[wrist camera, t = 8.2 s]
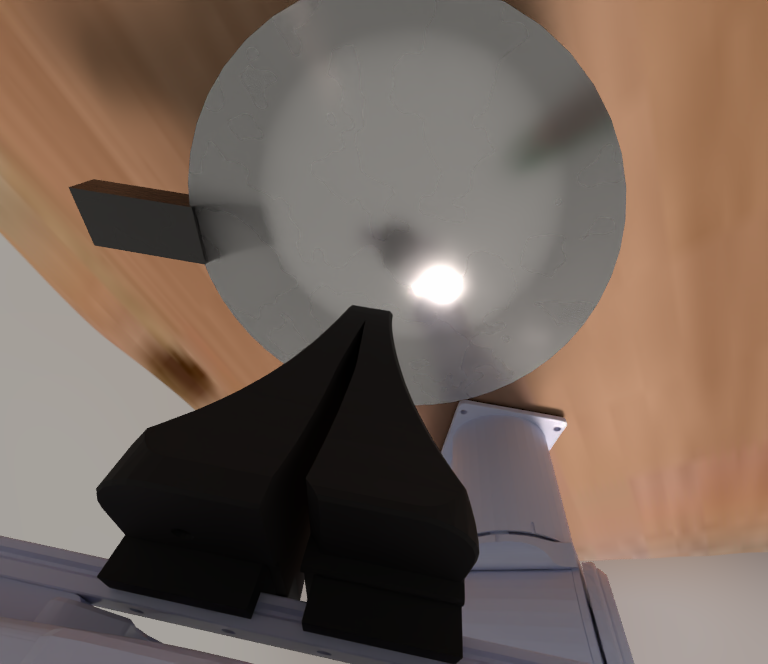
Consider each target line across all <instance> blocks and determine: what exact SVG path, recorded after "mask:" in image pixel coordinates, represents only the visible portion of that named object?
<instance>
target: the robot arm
mask: <svg viewBox="0 0 768 664" xmlns="http://www.w3.org/2000/svg"><path fill="white" fill-rule="evenodd" d="M392 319H393V314H392V313H391V312H390V311H387V310H381V309H374V308H368V307H362V306H356V305H352V306H350V307H349V308H348V309H347V310H346V311H345V312H344V313H343V314H342V315H341V316H340V317H339V318H338V319H337V320H336V321H335V322H334V323H333V324H332V325H331V326H330V327H329V328H328V329H327V330H326V331H325V332H323V333H322V334H321V335H320V336H319V337H318V338H317V339H316V340H315V341H313V342H312V343H311V344H310V345H308V346H307V347H306V348H305V349H303V350H302V351H301V352H300V353H298V354H297V355H296V356H294V357H293V358H292V359H290V360H289V361H287V362H286V363H285V364H283V365H282V366H280V367H279V368H277V369H276V370H274V371H273V372H271V373H269V374H268V375H266V376H264V377H263V378H261V379H259V380H257V381H256V382H254V383H252V384H250V385H248V386H247V387H245V388H243V389H241V390H239V391H237V392H235V393H233V394H231V395H229V396H227V397H225V398H223V399H221V400H218V401H216V402H214V403H212V404H209V405H207V406H205V407H202V408H200V409H198V410H195V411H193V412H190V413H188V414H185V415H182V416H180V417H177V418H174V419H171V420H169V421H166V422H164V423H161V424H158V425H155V426H152V427H150V428H147V429H146V430H145V431H144V432H143V434H142V435H141V436H140V437H139V438H138V439H137V440H136V441H135V442H134V443H133V444H132V445H131V447H130V448H129V449H128V450H127V452H126V453H125V454H124V455H123V456H122V458H121V459H120V460H119V461H118V463H117V464H116V465H115V466H114V468H113V469H112V470H111V471H110V472H109V474H108V475H107V476H106V477H105V479H104V480H103V481H102V482H101V483H100V485H99V486H98V487H97V488H96V491H97V500H98V502H99V503H100V505H101V507H102V508H103V509H104V511H106V513H107V514H108V515H109V516H110V518H111V519H112V520H113V521H114V522H115V523H116V524H117V526H118V527H119V528H120V529H121V530H122V531H123V532H124V534H125V536H124V538H123V539H122V541H121V542H120V544H119V545H118V546H117V548H116V549H115V551H114V552H113V554H112V555H111V557H110V558H109V559H105V558H101V557H96V556H91V555H87V554H82V553H78V552H73V551H68V550H64V549H59V548H55V547H50V546H45V545H41V544H36V543H31V542H27V541H22V540H18V539H13V538H8V537H4V536H0V664H252V663H248V662H244V661H240V660H236V659H231V658H227V657H223V656H219V655H214V654H210V653H205V652H201V651H197V650H192V649H187V648H182V647H178V646H173V645H168V644H163V643H161V642H159V641H158V640H155V639H154V638H152V637H150V636H148V635H146V634H145V633H143V632H142V631H141V630H139V629H138V628H136V627H135V625H134V624H133V622H132V621H131V620H130V619H128V618H126V617H123V616H120V615H116V614H114V613H111V612H108V611H105V610H102V609H99V608H96V607H93V606H98V607H102V608H107V609H111V610H116V611H121V612H124V613H129V614H133V615H138V616H142V617H147V618H151V619H156V620H160V621H165V622H169V623H174V624H178V625H182V626H187V627H191V628H195V629H200V630H204V631H209V632H213V633H218V634H222V635H226V636H231V637H235V638H240V639H244V640H249V641H253V642H257V643H262V644H266V645H271V646H275V647H280V648H284V649H289V650H293V651H298V652H302V653H306V654H311V655H315V656H320V657H324V658H329V659H333V660H337V661H342V662H346V663H350V664H634V661H633V658H632V655H631V652H630V648H629V645H628V642H627V638H626V635H625V632H624V629H623V626H622V622H621V619H620V616H619V613H618V609H617V606H616V603H615V600H614V597H613V593H612V590H611V587H610V584H609V581H608V578H607V575H606V574H604V573H603V572H602V571H601V570H599V569H598V568H596V566H595V564H594V563H592V562H586V563H582V566H583V570H582V567H581V564H580V562H579V559H578V556H577V554H576V551H575V548H574V546H573V542H572V538H571V534H570V531H569V527H568V523H567V519H566V515H565V511H564V507H563V503H562V500H561V496H560V492H559V488H558V484H557V480H556V476H555V473H554V469H553V465H552V461H551V457H550V453H549V450H550V449H551V447H552V446H553V445H554V443H555V442H556V440H557V439H558V437H559V436H560V435H561V433H562V432H563V430H564V429H565V427H566V426H567V422H566V419H565V418H563V417H558V416H553V415H547V414H542V413H536V412H531V411H525V410H519V409H514V408H508V407H503V406H497V405H492V404H486V403H481V402H475V401H469V400H461V401H460V402H459V403H458V406H457V409H456V411H455V414H454V417H453V420H452V423H451V425H450V428H449V431H448V434H447V437H446V439H445V442H444V445H443V448H442V450H441V452H440V450H439V449H438V447H437V446H436V444H435V442H434V441H433V439H432V437H431V435H430V433H429V432H428V430H427V428H426V426H425V424H424V423H423V421H422V419H421V417H420V415H419V413H418V411H417V409H416V407H415V405H414V402H413V400H412V398H411V395H410V393H409V391H408V388H407V386H406V383H405V380H404V377H403V374H402V371H401V368H400V365H399V361H398V357H397V353H396V349H395V344H394V339H393V331H392ZM583 572H584V573H583ZM304 580H305V585H306V592H307V602H304V601H300V598H301V593H302V589H303V584H304Z"/></svg>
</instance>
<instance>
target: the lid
mask: <svg viewBox="0 0 768 664" xmlns="http://www.w3.org/2000/svg"><path fill="white" fill-rule="evenodd" d="M188 187H189V194H182V193H176V192H170V191H164V190H157V189H151V188H145V187H139V186H133V185H126V184H120V183H114V182H108V181H101V180H95V179H93V180H90V181H87V182H84V183H81V184H78V185H75V186H71V187H69V189H70V191H71V194H72V196H73V198H74V200H75V203H76V205H77V207H78V209H79V212H80V214H81V216H82V218H83V220H84V223H85V225H86V227H87V229H88V232H89V234H90V236H91V238H92V241H93V243H94V245H96V246H102V247H107V248H113V249H119V250H125V251H130V252H136V253H142V254H148V255H154V256H159V257H165V258H171V259H177V260H183V261H188V262H194V263H200V264H205V266H206V269H207V271H208V273H209V275H210V278H211V280H212V282H213V283H214V285H215V287H216V289H217V290H218V292H219V294H220V296H221V297H222V299H223V301H224V302H225V304H226V305H227V306H228V308H229V309H230V311H231V312H232V313H233V315H234V316H235V318H236V319H237V320H238V321H239V322H240V323H241V325H242V326H243V327H244V328H245V329H246V330H247V331H248V333H249V334H250V335H251V336H252V337H253V338H254V339H255V340H256V341H257V342H259V343H260V344H261V345H262V346H263V347H264V348H265V349H266V350H267V351H268V352H270V353H271V354H272V355H274V356H275V357H276V358H277V359H279V360H280V361H281V362H283V363H284V364H285V363H286V362H287V361H289V360H290V359H292V358H293V357H294V356H296V355H297V354H298V353H300V352H301V351H302V350H303V349H305V348H306V347H307V346H308V345H310V344H311V343H312V342H313V341H315V340H316V339H317V338H318V337H319V336H320V335H321V334H322V333H323V332H325V331H326V330H327V329H328V328H329V327H330V326H331V325H332V324H333V323H334V322H335V321H336V320H337V319H338V318H339V317H340V316H341V315H342V314H343V313H344V312H345V311H346V310H347V309H348V308H349V307H350V306H352V305H356V306H362V307H368V308H374V309H381V310H387V311H390V312H391V313H392V314H393V319H392V331H393V339H394V344H395V349H396V353H397V357H398V361H399V365H400V368H401V371H402V374H403V377H404V380H405V383H406V386H407V388H408V391H409V393H410V395H411V398H412V400H413V402H414V405H433V404H442V403H450V402H455V401H460V400H465V399H469V398H473V397H476V396H479V395H483V394H486V393H489V392H492V391H494V390H497V389H499V388H501V387H504V386H506V385H508V384H510V383H513V382H514V381H516V380H518V379H520V378H521V377H523V376H525V375H527V374H529V373H530V372H532V371H533V370H535V369H536V368H537V367H539V366H540V365H542V364H543V363H544V362H546V361H547V360H549V359H550V358H551V357H552V356H553V355H554V354H556V353H557V352H558V351H559V350H560V349H561V348H562V347H563V346H564V345H565V344H567V343H568V342H569V340H570V339H571V338H572V337H573V336H574V335H575V334H576V332H577V331H578V330H579V329H580V328H581V327H582V325H583V324H584V323H585V322H586V320H587V319H588V317H589V316H590V314H591V313H592V311H593V310H594V308H595V307H596V305H597V304H598V302H599V300H600V298H601V296H602V294H603V292H604V290H605V288H606V286H607V284H608V282H609V280H610V278H611V275H612V272H613V269H614V266H615V263H616V260H617V257H618V254H619V251H620V247H621V241H622V236H623V230H624V224H625V212H626V183H625V175H624V168H623V160H622V153H621V150H620V147H619V143H618V140H617V137H616V134H615V130H614V127H613V124H612V120H611V118H610V116H609V114H608V112H607V110H606V108H605V106H604V104H603V102H602V100H601V98H600V96H599V94H598V92H597V90H596V88H595V86H594V84H593V83H592V82H591V80H590V79H589V78H588V76H587V75H586V74H585V72H584V71H583V69H582V68H581V67H580V65H579V64H578V63H577V61H576V60H575V59H574V57H573V56H572V55H571V53H570V52H569V51H568V50H567V49H565V48H564V47H563V46H562V45H561V44H560V43H559V42H558V41H557V40H556V39H555V38H554V37H553V36H552V35H551V34H550V33H548V32H547V31H546V30H545V29H544V28H543V27H542V26H541V25H540V24H538V23H537V22H535V21H534V20H532V19H530V18H529V17H527V16H526V15H524V14H523V13H521V12H520V11H518V10H517V9H515V8H514V7H512V6H510V5H509V4H507V3H506V2H504V1H501V0H300V1H298V2H296V3H294V4H293V5H291V6H289V7H288V8H286V9H284V10H283V11H281V12H279V13H278V14H276V15H274V16H273V17H272V18H270V19H269V20H268V21H267V22H266V23H265V24H263V25H262V26H261V27H260V28H259V29H258V30H257V31H255V32H254V33H253V34H252V35H251V36H250V37H248V38H247V39H246V40H245V41H244V43H243V44H242V45H241V46H240V48H239V49H238V50H237V51H236V52H235V54H234V55H233V56H232V57H231V59H230V60H229V61H228V62H227V63H226V65H225V66H224V67H223V69H222V71H221V73H220V74H219V76H218V78H217V80H216V81H215V83H214V85H213V87H212V88H211V90H210V92H209V94H208V95H207V98H206V101H205V103H204V106H203V109H202V111H201V114H200V117H199V119H198V122H197V125H196V129H195V134H194V138H193V143H192V148H191V152H190V164H189V177H188Z"/></svg>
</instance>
